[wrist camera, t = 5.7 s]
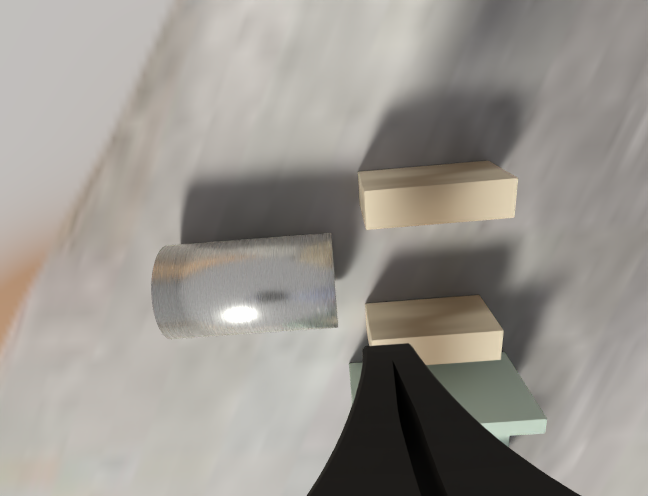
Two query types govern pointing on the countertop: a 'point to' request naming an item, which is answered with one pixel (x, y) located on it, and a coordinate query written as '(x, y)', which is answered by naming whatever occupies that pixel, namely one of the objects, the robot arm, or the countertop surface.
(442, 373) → the v block
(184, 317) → the axle
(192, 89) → the countertop surface
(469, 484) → the robot arm
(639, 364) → the countertop surface
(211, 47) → the countertop surface
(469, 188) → the beige blocks
